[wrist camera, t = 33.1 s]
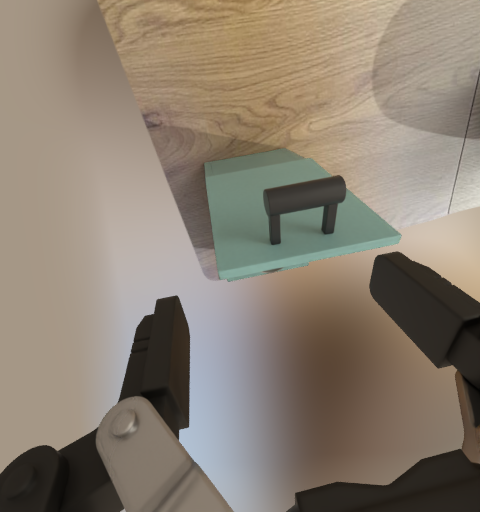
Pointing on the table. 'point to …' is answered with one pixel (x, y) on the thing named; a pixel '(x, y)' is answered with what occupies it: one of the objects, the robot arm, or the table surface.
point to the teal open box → (250, 163)
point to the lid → (288, 218)
